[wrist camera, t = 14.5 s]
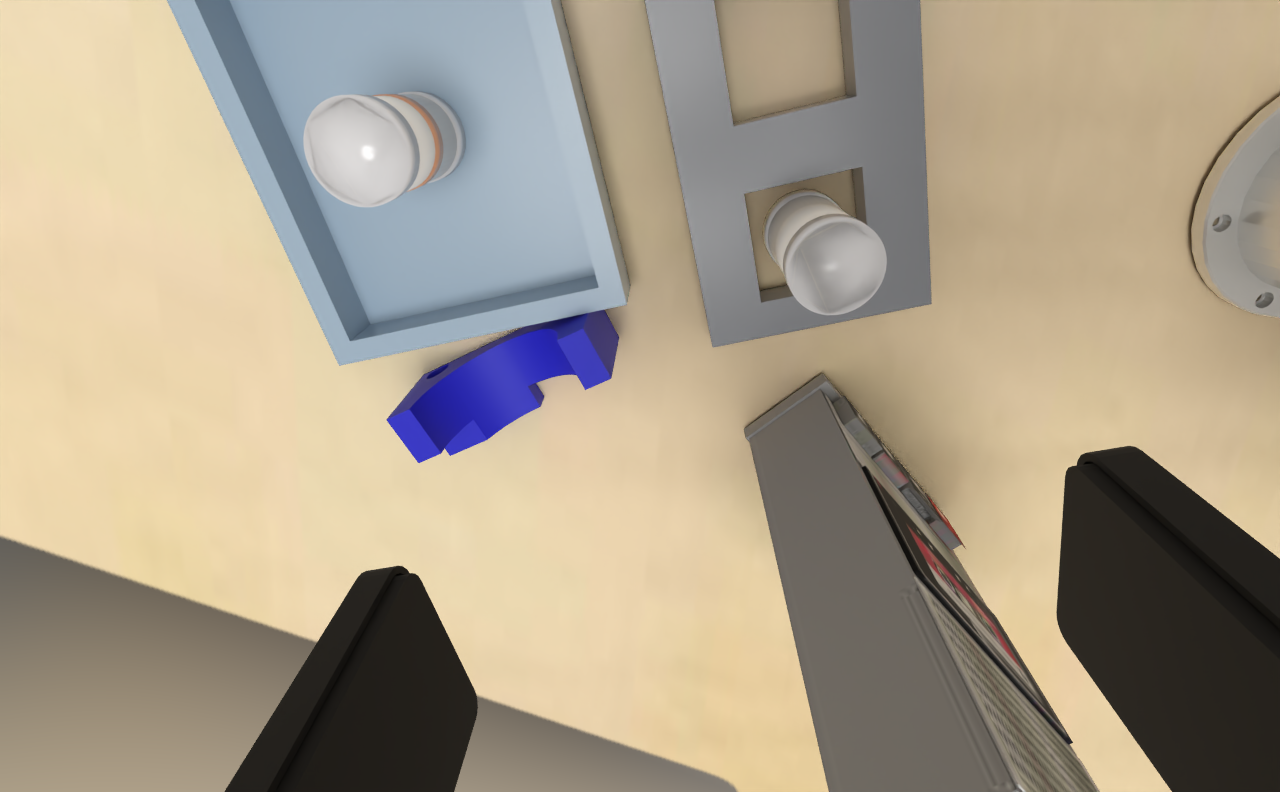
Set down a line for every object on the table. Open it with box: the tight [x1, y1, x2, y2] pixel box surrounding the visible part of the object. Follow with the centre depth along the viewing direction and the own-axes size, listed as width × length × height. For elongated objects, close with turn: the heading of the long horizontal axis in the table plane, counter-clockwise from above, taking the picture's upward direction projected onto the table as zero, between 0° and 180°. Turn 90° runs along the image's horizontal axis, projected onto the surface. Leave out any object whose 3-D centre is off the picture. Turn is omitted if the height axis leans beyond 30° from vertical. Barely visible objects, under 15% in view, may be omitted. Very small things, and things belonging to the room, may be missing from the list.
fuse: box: [763, 190, 887, 315], centre depth 31 cm, size 4×4×8 cm
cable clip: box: [387, 310, 619, 463], centre depth 37 cm, size 12×4×6 cm, turn 116°
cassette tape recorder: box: [744, 373, 1100, 792], centre depth 30 cm, size 14×6×25 cm, turn 42°
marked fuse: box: [303, 91, 466, 207], centre depth 29 cm, size 4×4×8 cm
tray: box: [167, 0, 630, 366], centre depth 32 cm, size 16×20×4 cm
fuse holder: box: [645, 0, 931, 347], centre depth 30 cm, size 12×28×2 cm, turn 13°
